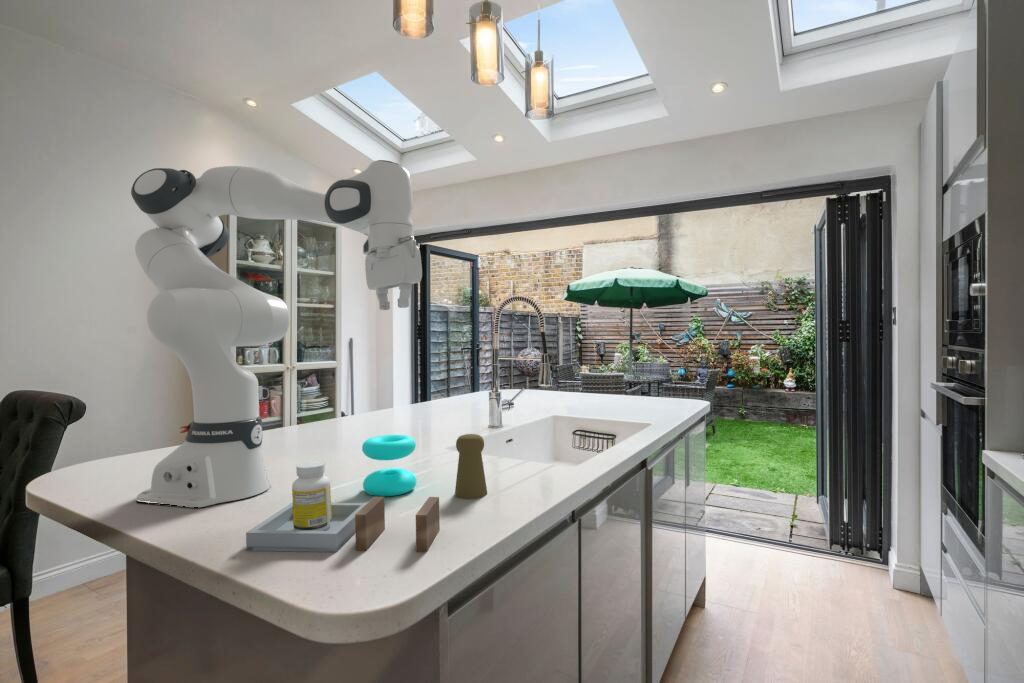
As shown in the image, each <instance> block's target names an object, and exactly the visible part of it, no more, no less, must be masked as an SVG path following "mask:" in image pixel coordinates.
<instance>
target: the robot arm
mask: <svg viewBox="0 0 1024 683" xmlns="http://www.w3.org/2000/svg"><path fill="white" fill-rule="evenodd" d="M130 190H131V191H130V194H131V197H132V199H133V201H134V203H135V204H136V205H137V207H138V208H139V209H140V211H142V212H143V213H144V214H146V215H147V217H148V218H149V219H150V220H151V221H152V222H153V223H154V224H155V225H156V226H157V227H155V228H154V227H153V228H151V229H148V230H146V231H145V232H143V233H142V234H141V235H140V236H139V237H138V238H137V240H136V241H135V242H136V243H135V244H134V245H135V246H134V250H135V255H136V258H137V260H138V263H139V265H140V266H141V268H142V271H143V272H144V273H145V275H146V276H147V278H148V279H149V281H151V282H152V284H153V285H154V286H155V287H156V288H157V290H158V291H159V292H158V294H157V295H155V297H154V298H153V299H152V300H151V302H150V303H149V306H148V309H147V313H146V322H147V326H148V329H149V331H150V333H151V334H152V336H153V337H154V338H155V339H156V341H158V342H159V343H161V344H162V345H164V346H165V347H167V348H168V349H169V350H171V351H172V353H174V354H175V355H176V357H177V358H178V359H180V361H181V363H182V364H183V365H184V367H185V369H186V372H187V374H188V376H189V379H190V384H191V392H192V402H193V421H191V422H190V423H188V425H183V426H181V427H179V429H182V430H181V431H179V433H180V434H184V433H187V434H186V436H185V438H184V440H185V441H184V442H183V443H182V444H181V445H179V446H177V448H176V449H174V450H173V451H172V452H170V453H169V454H168V455H167V456H165V457H164V458H162V459H161V460H160V461H159V462H158V463H157V464H156V465H155V467H154V469H153V471H152V477H151V480H150V481H151V485H150V488H147V489H145V490H144V491H142V492H140V493H139V494H137V496H136V499H135V501H136V500H140V501H150V502H157V503H163V504H170V505H169V506H171V505H177V506H176V507H183V506H185V507H184V508H194V507H198V508H203V507H209V506H212V505H216V504H221V503H226V502H232V501H238V500H242V499H246V498H250V497H253V496H257V495H259V494H262V493H263V492H266V491H268V490H269V489H270V488H271V484H270V481H269V477H268V475H267V472H266V467H265V462H264V457H263V451H262V450H263V449H262V444H263V418H262V416H261V415H260V396H259V393H260V392H259V390H260V389H259V386H260V385H259V380H258V377H257V376H256V375H255V373H254V372H252V370H250V369H248V368H246V367H244V366H242V365H240V364H238V362H237V361H236V360H235V358H234V356H233V353H232V347H235V348H236V347H237V348H238V347H259V346H263V345H267V344H271V343H275V342H278V341H280V340H282V339H283V338H284V337H285V335H286V334H287V332H288V330H289V328H290V323H291V315H290V312H289V309H288V305H287V304H286V303H285V301H284V300H283V299H282V298H280V297H278V296H275V295H272V294H270V293H266V292H265V291H264V292H263V291H261V290H259V289H257V288H255V287H253V286H251V285H250V284H247V283H245V282H243V281H242V280H240V279H238V278H236V277H235V276H233V275H230V274H229V273H227V272H226V271H224V270H222V269H221V268H219V267H218V266H217V265H216V264H215V263H214V262H212V260H211V259H209V258H210V257H213V256H215V255H217V254H218V253H220V252H221V251H222V250H224V248H225V247H226V246H227V244H228V242H229V239H230V231H229V229H228V226H227V225H226V224H225V221H223V219H222V218H221V216H226V215H227V216H229V215H231V216H235V217H238V218H239V217H241V218H244V219H245V218H246V219H250V220H251V219H253V220H271V221H272V220H275V221H276V220H277V221H278V220H286V221H287V220H291V221H292V220H294V221H316V222H322V223H323V222H324V223H329V224H336V225H339V226H341V227H343V228H347V229H350V230H352V231H356V232H358V233H361V234H364V235H365V236H367V239H366V240H365V241H364V243H363V246H362V253H363V255H365V260H364V262H365V263H364V266H365V269H364V270H365V279H366V285H367V288H368V289H369V290H372V291H375V293H376V294H375V295H376V297H377V301H378V309H379V310H380V311H389V310H390V308H391V307H390V306H391V302H390V301H389V299H388V294H389V290H390V289H395V288H398V290H399V297H398V298H397V307H398V308H401V309H402V308H403V309H404V308H405V309H406V308H409V307H410V296H411V293H412V289H413V288H412V287H413V286H412V285H414V284H418V283H420V282H421V281H422V278H423V267H422V256H421V251H420V248H419V246H418V245H417V240H416V239H415V236H414V233H415V232H414V230H415V228H414V223H413V219H412V213H413V208H414V199H413V196H414V194H413V184H412V179H411V176H410V172H409V170H407V169H406V168H405V167H404V166H402V165H401V164H399V163H397V162H394V161H390V160H381V159H379V160H373V161H372V162H371V163H370V164H369V165H368V166H367V167H366V168H365V170H363V171H361V172H360V173H358V174H356V175H353V176H351V177H349V178H346V179H340V180H337V181H335V182H333V183H332V184H331V185H330V186H329V188H328V189H327V191H326V193H322V192H319V191H315V190H312V189H310V188H307V187H305V186H303V185H301V184H299V183H297V182H295V181H292V180H291V179H289V178H287V177H285V176H282V175H281V174H277V173H275V172H272V171H269V170H266V169H263V168H259V167H253V166H243V165H226V166H224V165H223V166H218V167H217V166H215V167H212V168H209V169H207V170H205V171H204V172H203V173H202V175H201V176H199V177H198V178H197V177H195V175H194V174H193V173H192V172H190V171H188V170H186V169H180V170H178V169H175V168H170V167H169V168H168V167H164V168H163V167H162V168H161V167H157V168H152V169H148V170H146V171H144V172H143V173H142V174H140V175H139V176H138V177H137V178H135V180H134V182H133V184H132V186H131V188H130Z"/></svg>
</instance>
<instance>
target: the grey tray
mask: <svg viewBox="0 0 1024 683" xmlns="http://www.w3.org/2000/svg"><path fill="white" fill-rule="evenodd" d="M367 503H368V502H365V503H364V502H331V526H330V527H329V528H328V529H326V530H324V531H294V525H293V502H291V503H289V504H288V505H286V506H285V507H284V508H282V509H280V510H279V511H278V512H275V513H274V514H272V515H271V516H270V517H268V518H266V519H264V521H262V522H260V523H258V524H257V525H256V526H254V527H252V528H251V529H249V530H248V531H246V533H245V539H246V540H245V541H246V542H245V545H246V546H245V547H246V551H248V552H249V551H253V552H255V551H258V552H321V553H322V552H326V553H327V552H330V553H331V552H332V553H338V551H340V549H341V548H342V547H343V546H344V545H345V544H346V543H347V542H348V541H349V540H350V539H351V538H353V536H355V535H356V532H355V514H356V513H357V512H358V511H360V510H361V509H362V508H363V507H364V506H365V505H366V504H367Z"/></svg>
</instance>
